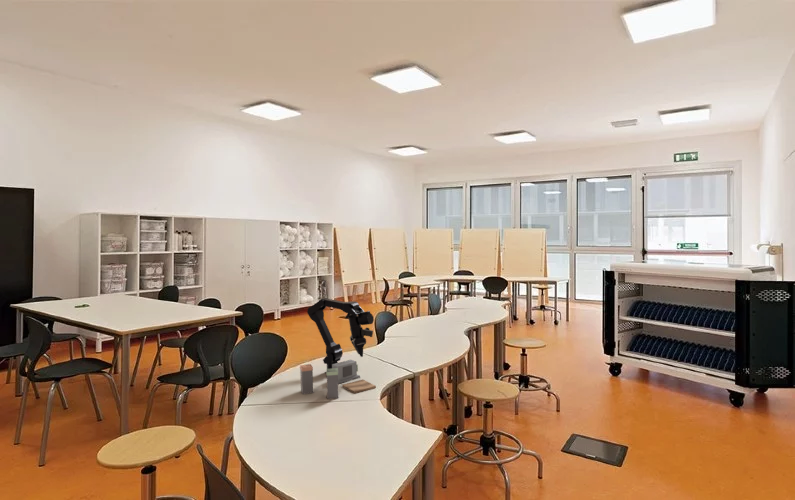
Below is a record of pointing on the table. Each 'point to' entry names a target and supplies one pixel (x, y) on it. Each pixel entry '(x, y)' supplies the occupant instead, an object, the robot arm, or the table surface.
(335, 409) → the table surface
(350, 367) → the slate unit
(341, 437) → the table surface
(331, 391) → the block
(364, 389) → the walnut pad
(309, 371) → the block
